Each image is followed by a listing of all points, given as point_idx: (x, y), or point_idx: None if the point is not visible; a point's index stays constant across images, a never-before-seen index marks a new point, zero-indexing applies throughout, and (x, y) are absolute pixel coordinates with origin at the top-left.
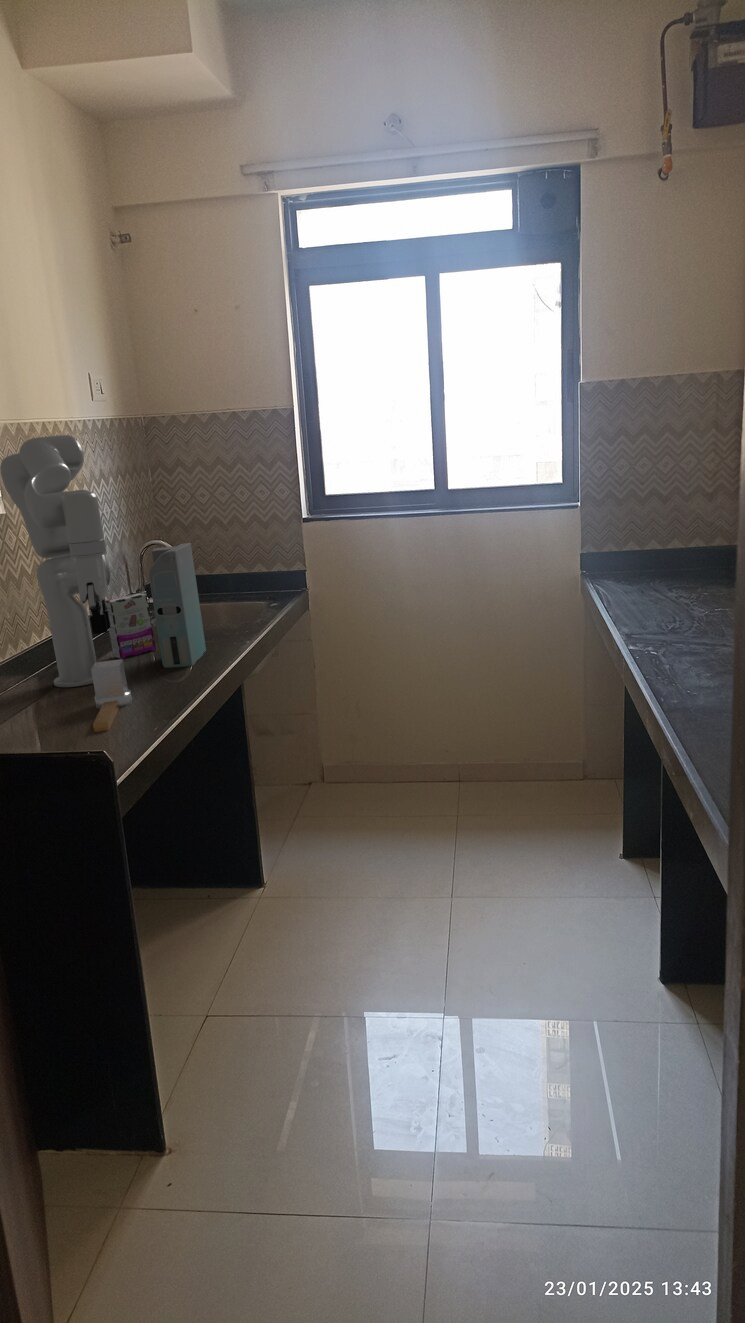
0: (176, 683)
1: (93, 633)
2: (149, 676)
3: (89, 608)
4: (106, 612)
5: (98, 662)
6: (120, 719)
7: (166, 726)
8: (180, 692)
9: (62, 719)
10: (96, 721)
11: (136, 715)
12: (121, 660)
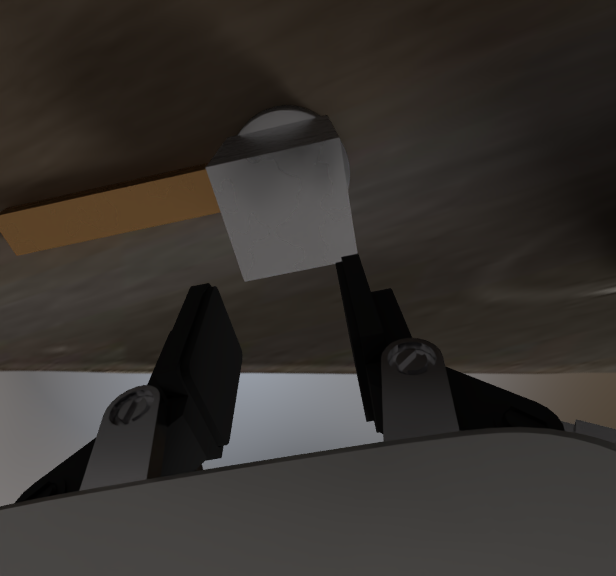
0: (458, 291)
1: (194, 287)
2: (606, 181)
3: (18, 500)
4: (367, 417)
5: (335, 157)
6: (126, 243)
7: (77, 364)
8: None
9: (123, 19)
10: (15, 219)
11: (161, 275)
12: (332, 262)
